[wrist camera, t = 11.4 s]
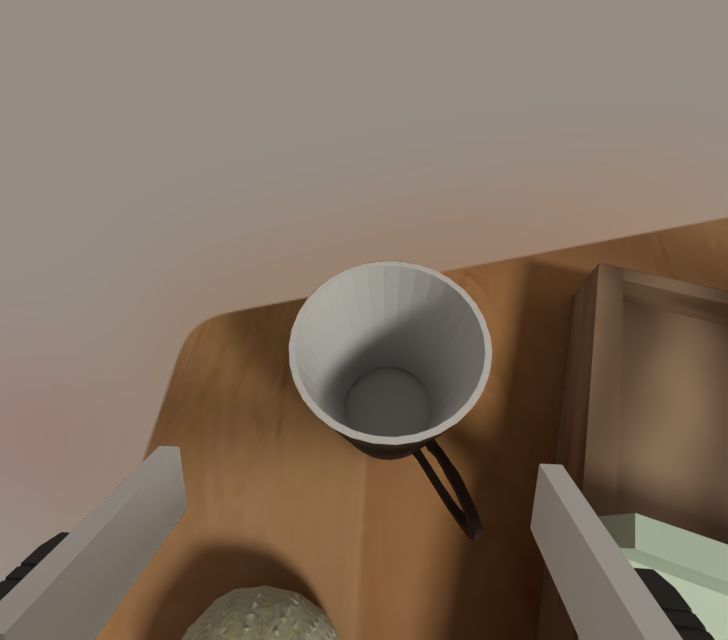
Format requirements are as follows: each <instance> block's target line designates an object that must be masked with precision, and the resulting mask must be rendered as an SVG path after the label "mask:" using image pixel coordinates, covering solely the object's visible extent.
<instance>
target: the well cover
mask: <svg viewBox="0 0 728 640" xmlns="http://www.w3.org/2000/svg"><path fill="white" fill-rule="evenodd" d="M598 518H599V519H600V520H601V522H602V523H603V525H604V526H605V528H606V529H607V531H608V532H609V533H610V535H611V536H612V538H613V539H614V541H615V542H616V544H617V545H618V546H619V548H620V549H621V551H622V552H623V554H624V555H625V557H626V558H627V559H628V561H629V562H630V564H631V565H632V567H633V568H644V569H654V570H655V571H656V572H657V573H658V574H659V575H661V576H662V577H663V578H664V579H665V580H667V581H668V582H669V583H670V584H671V585H672V586H674V587H675V588H676V590H677V591H678V592H679V593H680V595H681V596H682V597H683V599H684V600H685V601H686V603H687V604H688V605H689V606H690V608H691V609H692V612H693V614H696V616H697V617H698V618H699V619H700V621H701V622H702V623H703V625H704V626H705V627H706V631H707V632H710V634H711V635H712V636H713V638H714V639H715V640H728V545H727V544H724V543H721V542H719V541H716V540H713V539H710V538H707V537H704V536H701V535H698V534H695V533H692V532H689V531H686V530H684V529H681V528H678V527H675V526H672V525H669V524H666V523H663V522H660V521H657V520H654V519H651V518H649V517H646V516H643V515H640V514H637V513H630V514H619V515H608V516H598ZM578 640H580V639H579V637H578Z"/></svg>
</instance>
